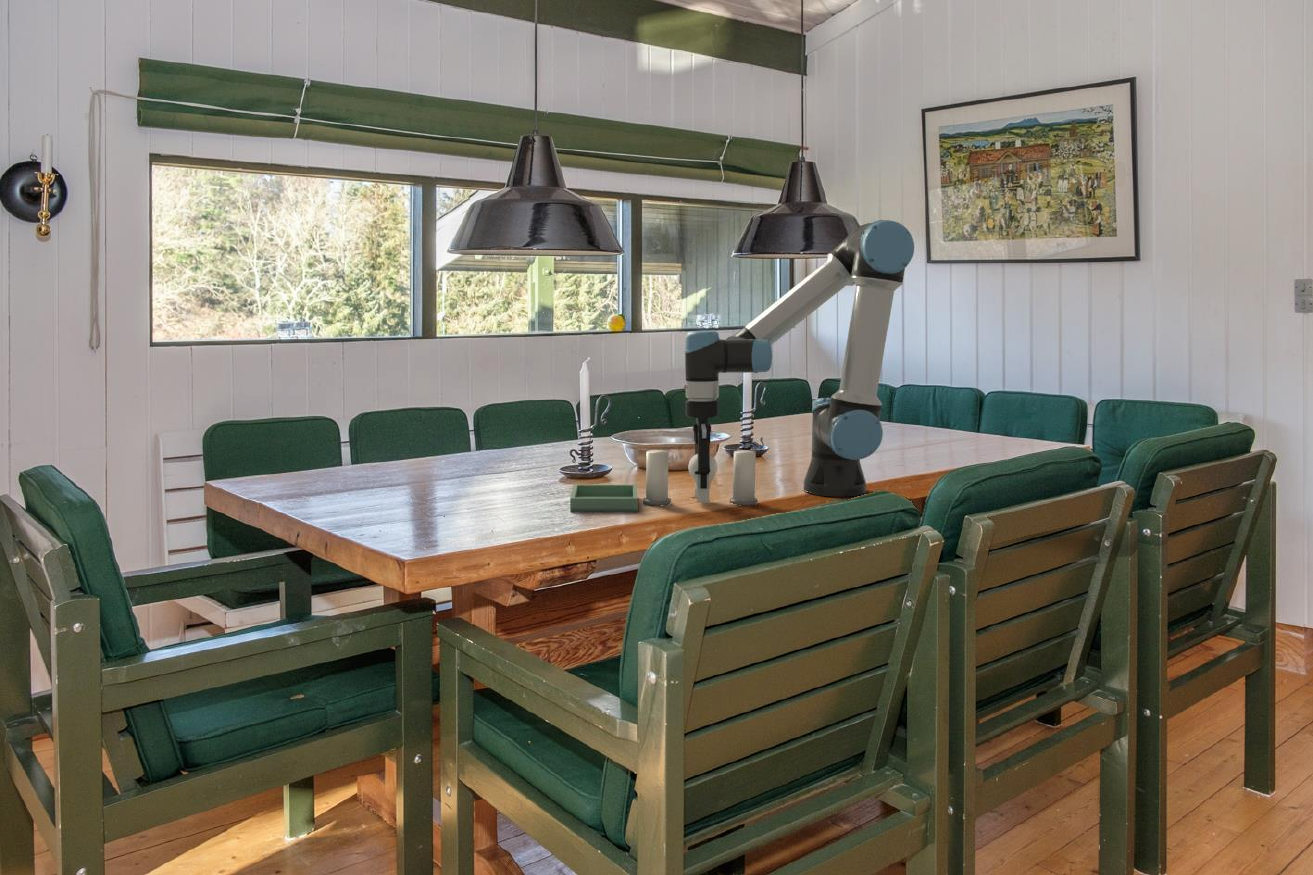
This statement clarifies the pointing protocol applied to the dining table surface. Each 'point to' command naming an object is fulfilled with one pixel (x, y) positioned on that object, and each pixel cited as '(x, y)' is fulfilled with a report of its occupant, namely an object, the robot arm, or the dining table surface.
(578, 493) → the tray
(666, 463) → the candle
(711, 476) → the light bulb
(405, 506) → the dining table surface
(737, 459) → the candle
